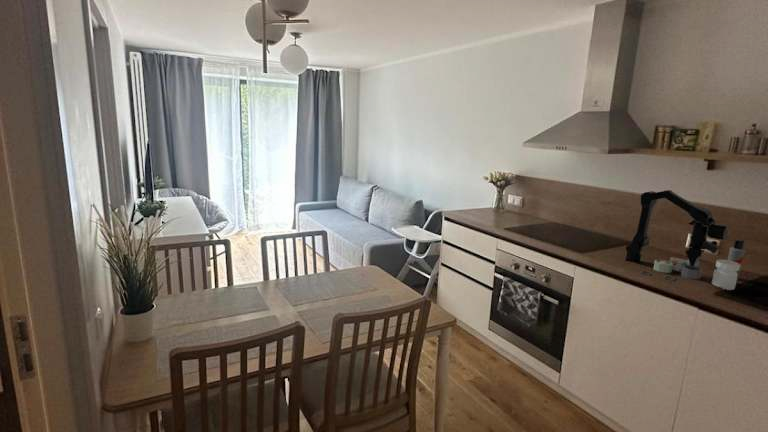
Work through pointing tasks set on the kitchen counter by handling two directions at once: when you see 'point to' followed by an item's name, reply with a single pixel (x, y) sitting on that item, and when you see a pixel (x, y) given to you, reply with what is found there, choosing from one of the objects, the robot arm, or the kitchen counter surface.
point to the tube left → (663, 266)
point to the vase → (725, 274)
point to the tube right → (691, 272)
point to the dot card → (678, 263)
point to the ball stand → (664, 277)
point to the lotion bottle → (737, 253)
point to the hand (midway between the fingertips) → (692, 265)
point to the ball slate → (695, 263)
